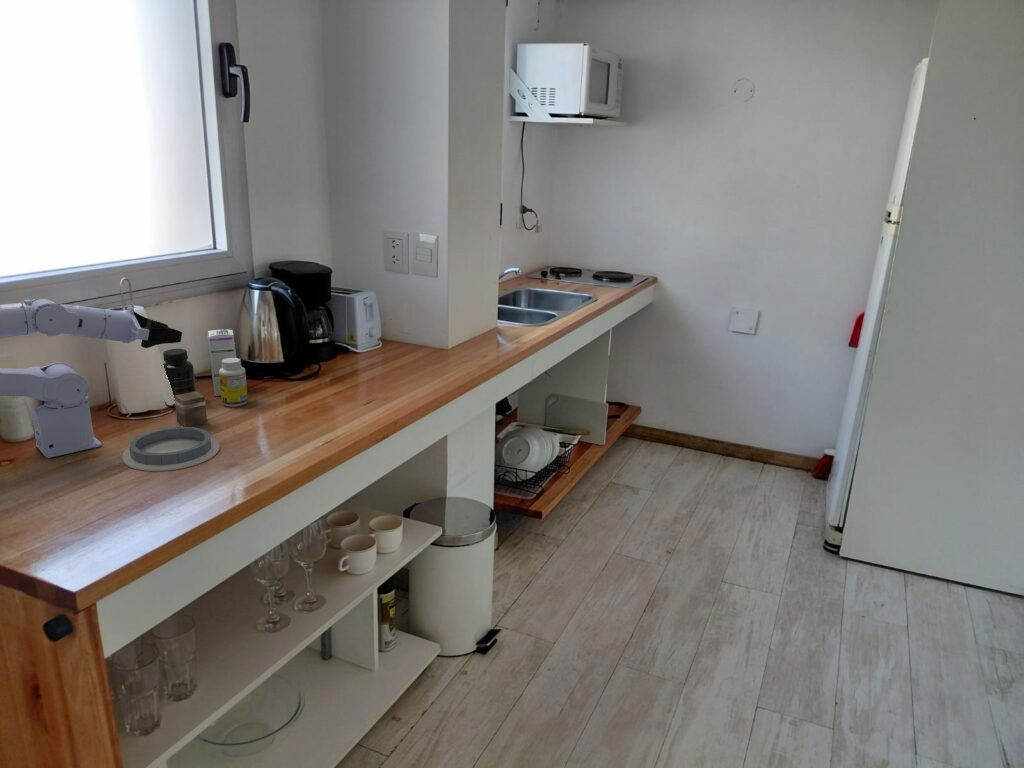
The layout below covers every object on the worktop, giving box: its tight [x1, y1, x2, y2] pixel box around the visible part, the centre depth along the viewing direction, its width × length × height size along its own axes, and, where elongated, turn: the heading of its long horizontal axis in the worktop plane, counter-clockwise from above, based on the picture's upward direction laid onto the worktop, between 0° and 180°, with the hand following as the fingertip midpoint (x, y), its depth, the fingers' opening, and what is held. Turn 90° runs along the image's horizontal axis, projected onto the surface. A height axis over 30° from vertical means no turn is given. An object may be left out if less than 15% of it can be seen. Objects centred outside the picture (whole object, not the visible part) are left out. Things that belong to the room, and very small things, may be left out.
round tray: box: [121, 426, 221, 472], centre depth 144 cm, size 17×17×2 cm
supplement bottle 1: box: [162, 348, 197, 396], centre depth 169 cm, size 7×7×12 cm
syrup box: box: [207, 328, 238, 397], centre depth 177 cm, size 6×6×14 cm
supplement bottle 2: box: [219, 357, 249, 408], centre depth 170 cm, size 6×6×10 cm
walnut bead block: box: [174, 390, 208, 428], centre depth 159 cm, size 5×5×6 cm
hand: (173, 333), depth 154 cm, fingers open, 7 cm apart
